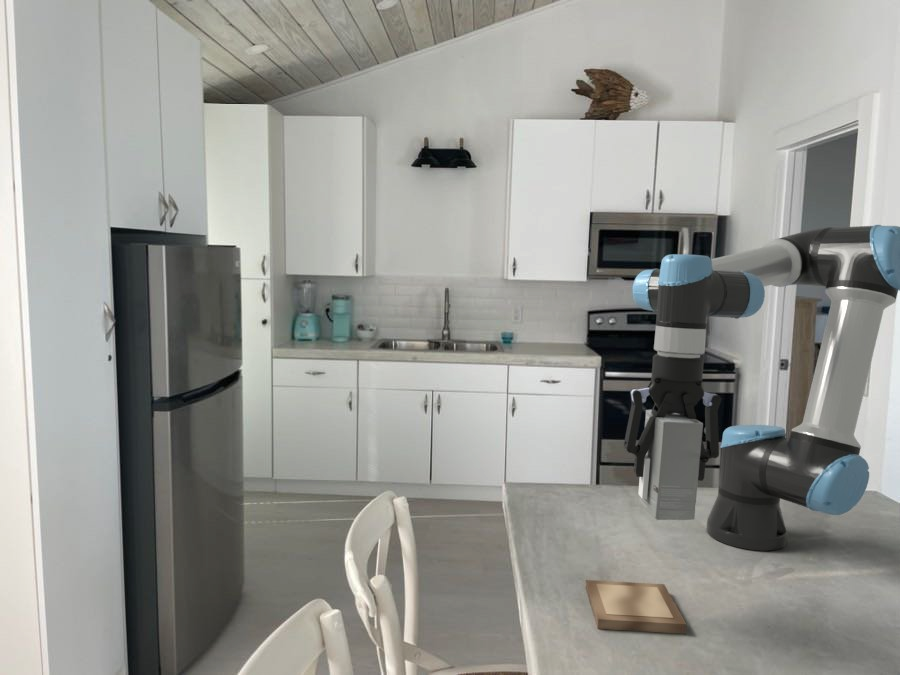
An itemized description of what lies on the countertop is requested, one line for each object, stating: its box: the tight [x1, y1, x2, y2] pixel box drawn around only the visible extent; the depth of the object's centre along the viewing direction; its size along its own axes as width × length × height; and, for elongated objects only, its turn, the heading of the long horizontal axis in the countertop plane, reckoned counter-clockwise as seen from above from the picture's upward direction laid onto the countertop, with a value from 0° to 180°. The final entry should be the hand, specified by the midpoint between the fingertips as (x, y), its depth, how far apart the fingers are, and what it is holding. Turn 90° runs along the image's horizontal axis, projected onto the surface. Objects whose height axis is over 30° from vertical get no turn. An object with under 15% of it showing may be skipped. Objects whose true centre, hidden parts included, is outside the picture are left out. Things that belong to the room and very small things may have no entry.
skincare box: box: [637, 409, 704, 521], centre depth 108 cm, size 8×7×16 cm
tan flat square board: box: [585, 579, 687, 635], centre depth 108 cm, size 13×13×2 cm
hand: (666, 497), depth 108 cm, fingers closed on skincare box, 7 cm apart
